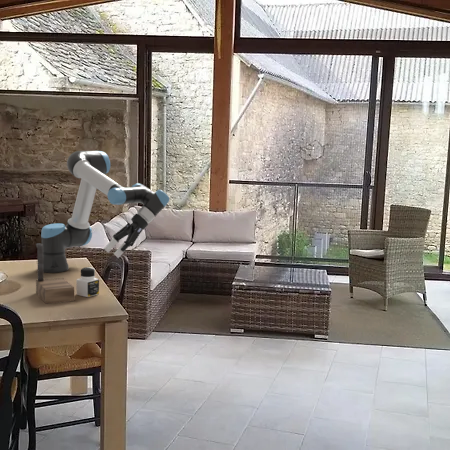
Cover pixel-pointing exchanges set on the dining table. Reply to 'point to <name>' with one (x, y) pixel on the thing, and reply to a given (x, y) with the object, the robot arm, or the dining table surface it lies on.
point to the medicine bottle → (87, 283)
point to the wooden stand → (52, 284)
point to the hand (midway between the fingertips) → (110, 253)
